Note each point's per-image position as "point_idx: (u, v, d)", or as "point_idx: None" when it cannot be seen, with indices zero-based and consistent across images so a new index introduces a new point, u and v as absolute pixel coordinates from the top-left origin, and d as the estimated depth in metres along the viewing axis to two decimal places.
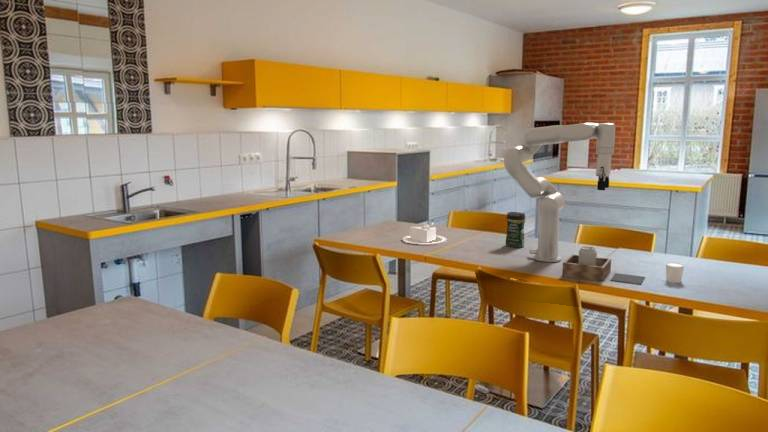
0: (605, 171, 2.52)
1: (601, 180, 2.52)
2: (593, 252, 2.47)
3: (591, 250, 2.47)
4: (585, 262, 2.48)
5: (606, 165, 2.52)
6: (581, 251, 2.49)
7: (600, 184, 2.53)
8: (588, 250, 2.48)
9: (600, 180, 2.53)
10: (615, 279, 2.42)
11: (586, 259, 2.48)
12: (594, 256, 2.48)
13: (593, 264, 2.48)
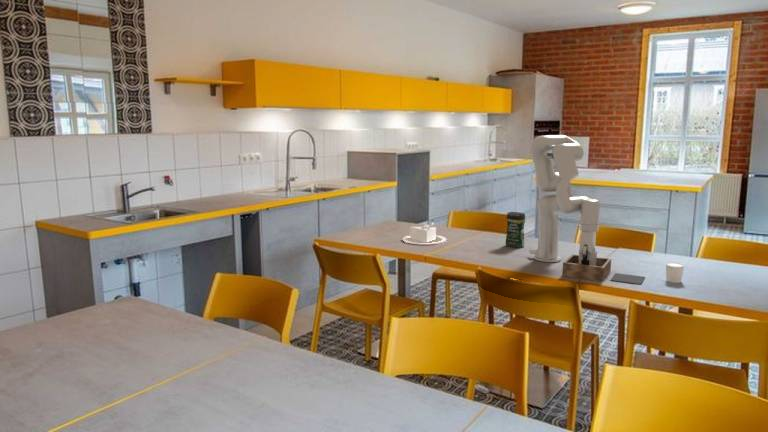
0: (589, 250, 2.45)
1: (585, 259, 2.46)
2: (593, 252, 2.47)
3: None
4: None
5: (590, 243, 2.45)
6: None
7: (584, 263, 2.47)
8: None
9: (584, 259, 2.46)
10: (615, 279, 2.42)
11: None
12: (594, 256, 2.48)
13: (593, 264, 2.48)
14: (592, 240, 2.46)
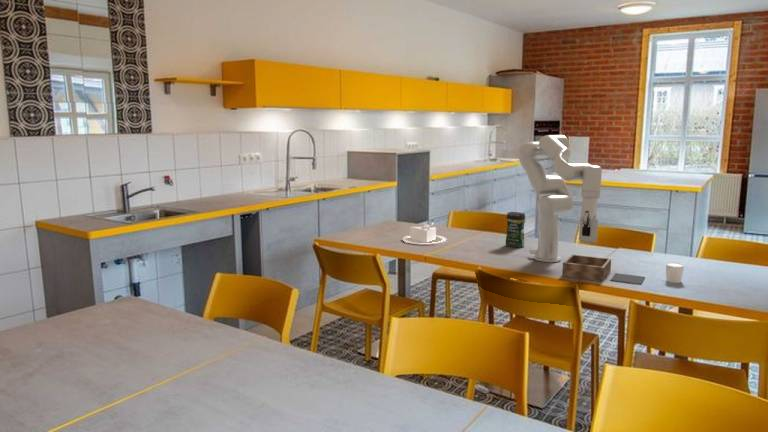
0: (590, 217, 2.43)
1: (586, 226, 2.44)
2: (594, 219, 2.45)
3: None
4: None
5: (591, 210, 2.43)
6: None
7: (585, 230, 2.45)
8: None
9: (585, 226, 2.44)
10: (615, 279, 2.42)
11: None
12: (595, 223, 2.45)
13: (594, 231, 2.46)
14: (593, 207, 2.43)
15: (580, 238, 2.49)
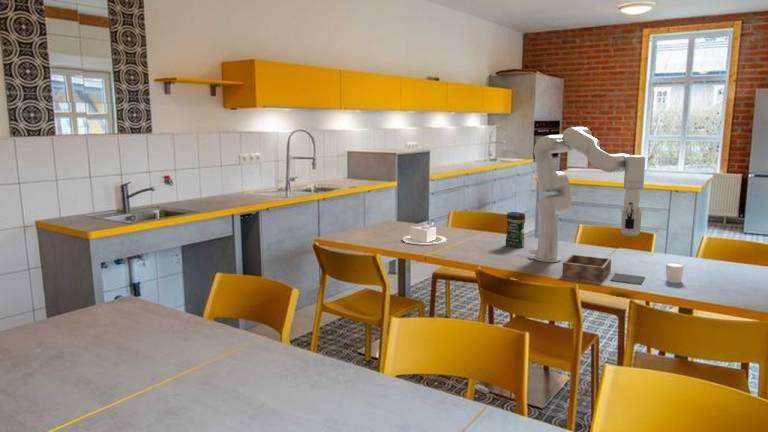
0: (634, 209, 2.34)
1: (629, 218, 2.34)
2: (638, 211, 2.35)
3: None
4: None
5: (635, 201, 2.33)
6: None
7: (628, 222, 2.35)
8: None
9: (628, 218, 2.35)
10: (615, 279, 2.42)
11: None
12: (639, 215, 2.36)
13: (638, 223, 2.36)
14: (637, 198, 2.34)
15: (623, 231, 2.39)
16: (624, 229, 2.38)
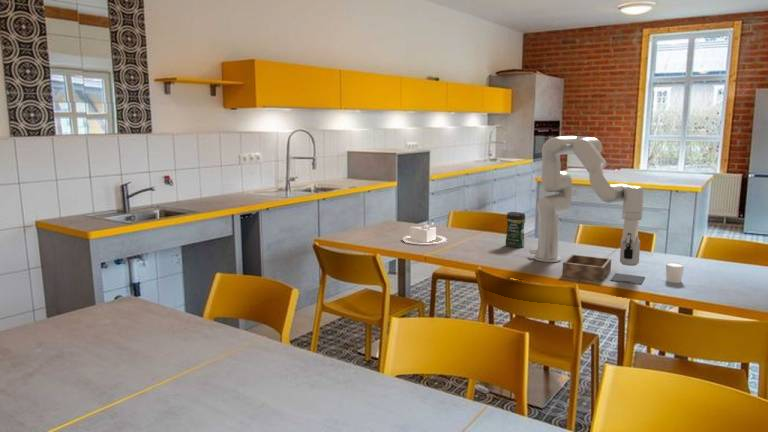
0: (632, 239, 2.36)
1: (628, 248, 2.36)
2: (637, 241, 2.37)
3: None
4: None
5: (633, 232, 2.35)
6: None
7: (627, 252, 2.37)
8: None
9: (627, 248, 2.37)
10: (615, 279, 2.42)
11: None
12: (638, 245, 2.38)
13: (636, 253, 2.38)
14: (636, 228, 2.36)
15: (622, 261, 2.41)
16: (623, 259, 2.40)
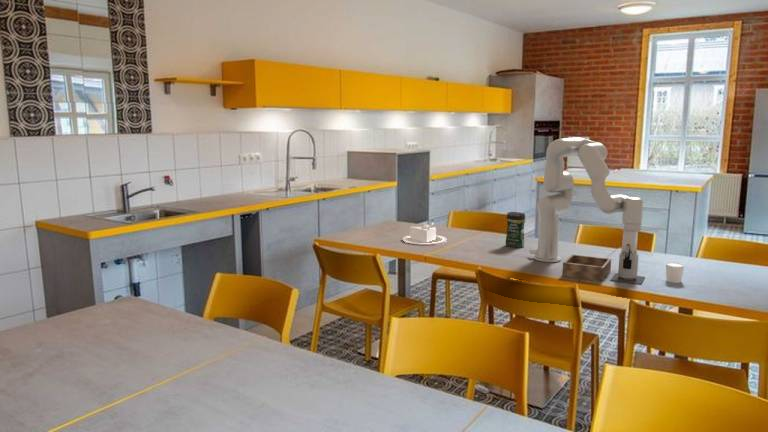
0: (631, 249, 2.36)
1: (627, 259, 2.36)
2: (635, 255, 2.39)
3: None
4: None
5: (633, 243, 2.36)
6: (622, 254, 2.41)
7: (626, 263, 2.37)
8: None
9: (626, 259, 2.37)
10: (615, 279, 2.42)
11: None
12: (636, 259, 2.39)
13: (634, 268, 2.40)
14: (635, 240, 2.37)
15: (620, 274, 2.43)
16: (621, 273, 2.42)
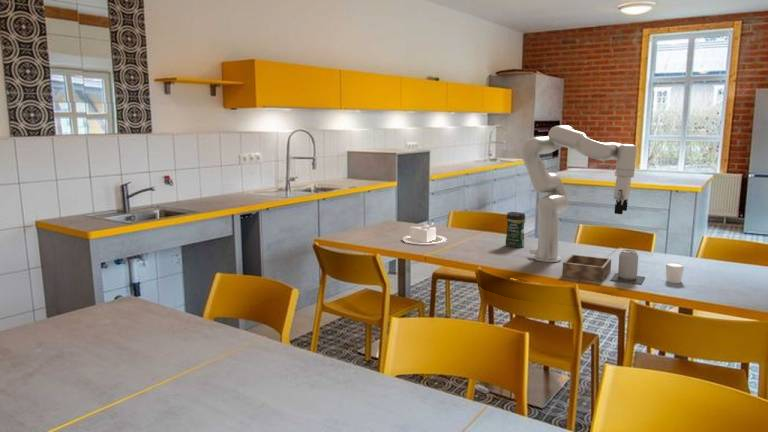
0: (623, 194, 2.42)
1: (619, 204, 2.43)
2: (634, 255, 2.39)
3: (632, 253, 2.39)
4: (625, 265, 2.40)
5: (625, 188, 2.42)
6: (622, 254, 2.41)
7: (617, 208, 2.44)
8: (629, 253, 2.39)
9: (618, 204, 2.43)
10: (615, 279, 2.42)
11: (627, 263, 2.39)
12: (635, 260, 2.39)
13: (634, 268, 2.40)
14: (627, 185, 2.43)
15: (620, 275, 2.43)
16: (621, 273, 2.42)
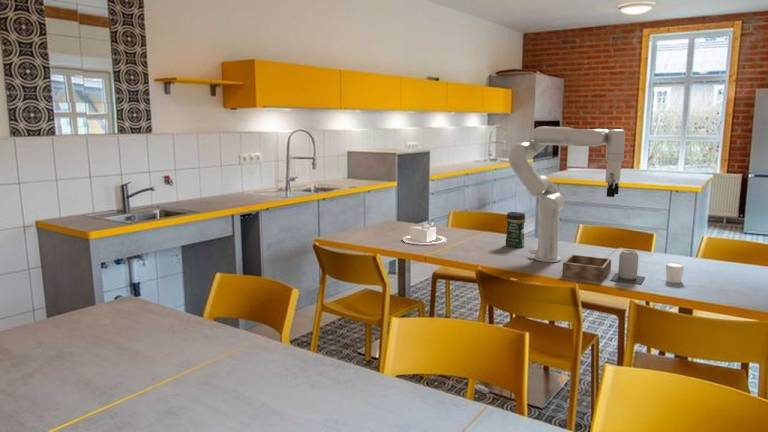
0: (615, 178, 2.51)
1: (610, 187, 2.52)
2: (635, 256, 2.39)
3: (633, 253, 2.39)
4: (626, 265, 2.40)
5: (616, 172, 2.51)
6: (622, 254, 2.41)
7: (609, 191, 2.53)
8: (629, 253, 2.39)
9: (609, 187, 2.52)
10: (615, 279, 2.42)
11: (627, 263, 2.39)
12: (636, 260, 2.39)
13: (634, 268, 2.40)
14: (618, 169, 2.52)
15: (620, 275, 2.43)
16: (621, 273, 2.42)
